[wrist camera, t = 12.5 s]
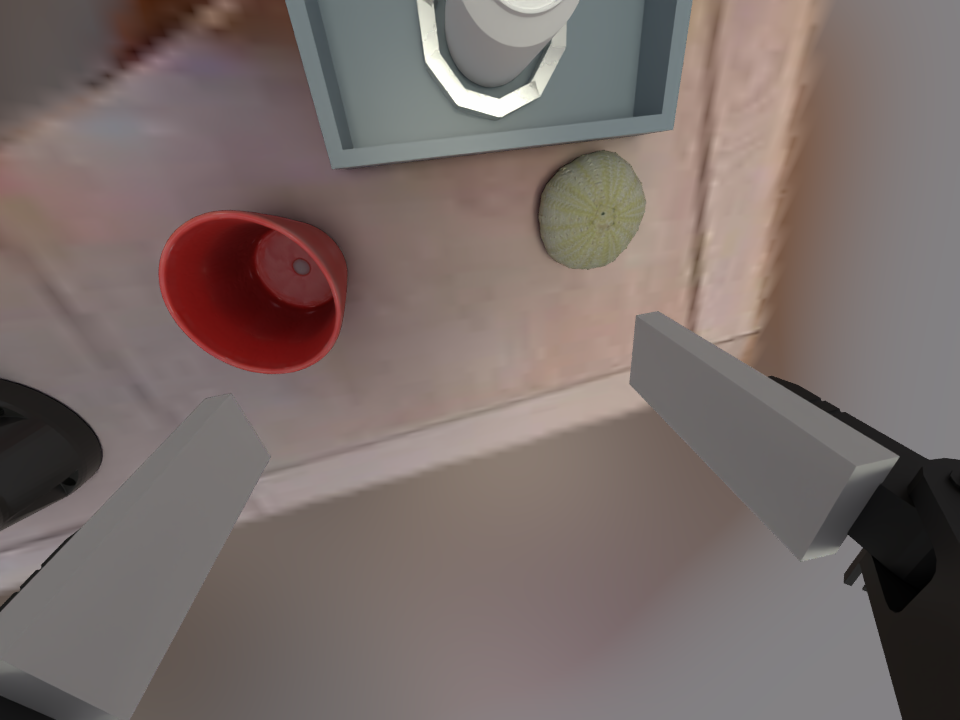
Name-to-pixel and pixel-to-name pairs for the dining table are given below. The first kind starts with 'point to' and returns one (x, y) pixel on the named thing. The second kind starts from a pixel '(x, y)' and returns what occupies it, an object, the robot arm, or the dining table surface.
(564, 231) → the sea urchin shell
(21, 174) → the dining table surface
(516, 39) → the beverage can
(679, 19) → the walled box
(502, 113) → the inlet ring
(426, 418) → the dining table surface
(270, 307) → the flower pot
